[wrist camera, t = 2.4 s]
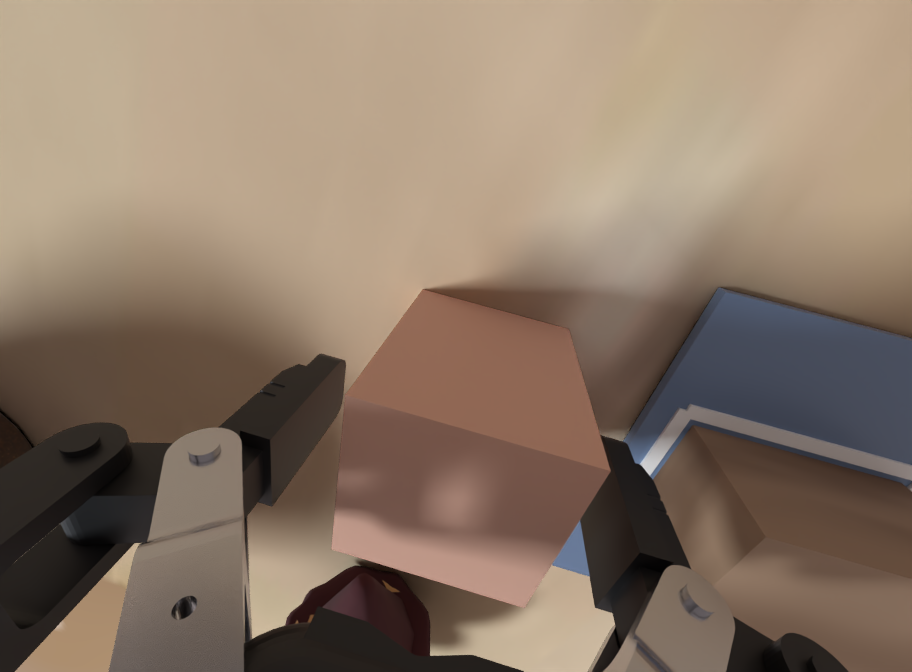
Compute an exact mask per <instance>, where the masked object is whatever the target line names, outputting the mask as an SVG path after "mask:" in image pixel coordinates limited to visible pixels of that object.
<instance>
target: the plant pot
mask: <svg viewBox="0 0 912 672" xmlns="http://www.w3.org/2000/svg"><path fill="white" fill-rule="evenodd" d="M31 449H32V447H31V445H30V444H29V442H28V441H27V439H26V438H25V437H24V435H23V434H22V433H21V432H20V431H19V429H18V428H17V427H16V426H15V425H14V424H13V423H12V422H11V421H9V420H8V419H7V418H6V417H5V416H4V415H2V414H1V413H0V468H2V467H4V466H5V465H7V464H8V463H10V462H12V461H13V460H15V459H16V458H18V457H20V456H21V455H23V454H24V453H26V452H27V451H29V450H31Z"/></svg>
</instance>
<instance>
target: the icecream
mask: <svg viewBox="0 0 912 672" xmlns="http://www.w3.org/2000/svg"><path fill="white" fill-rule="evenodd" d="M318 606H320V607H323V608H326V609H329V610H332V611H335V612H338V613H342V614H345V615H348V616H351V617H354V618H357V619H361V620H364V621H367V622H369V623H370V624H371V625H373V626H374V627H376V628H377V629H378V630H380V631H381V632H383V633H384V634H385V635H387V636H388V637H390V638H391V639H392V640H394V641H395V642H397V643H398V644H399V645H401V646H402V647H403V648H405V649H406V650H408V651H409V652H410V653H412V654H414V655H417V656H430V620H429V614H428V611H427V610H426V608H425V606H424V605H423V603H422V602H421V601H420V600H419V599H418V598H417V596H416V595H415V594H414V593H413V592H412V591H411V590H410V588H409V587H408V586H407V584H406V583H405V582H404V580H403V579H402V578H401V577H400V575H399V574H397V573H391V572H385V571H380V570H376V569H372V568H369V567H365V566H353V567H350V568H348V569H346V570H344V571H343V572H341V573H340V574H338V575H337V576H335V577H334V578H332V579H331V580H329V581H328V582H326V583H325V584H322V585H320V586H318V587H315V588H313V589H312V590H310V591H309V593H308V594H307V595H306V597H305V599H304V601H303V603H302V604H301V605H300V606H298V607H297V608H296V609H295V610H293V611H292V612H291V613H290V615H289V616H288V617H287V620H286V625H291V624H297V623H307V622H311V621H312V618H313V616H314V614H315V612H316V609H317V607H318ZM286 625H285V626H286Z"/></svg>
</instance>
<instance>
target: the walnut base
mask: <svg viewBox="0 0 912 672" xmlns="http://www.w3.org/2000/svg"><path fill="white" fill-rule="evenodd" d="M653 481H654V483H655V485H656V487H657V490H658V492H659V494H660V497H661V499H660V500H661V501H663V504H664V506H665V508H666V511H667V513H666V514H667V515H669V518H670V520H671V522H672V525H673V527H674V529H675V532H676V534H677V537H678V539H679V541H680V544H681V546H682V548H683V551H684V553H685V555H686V558H687V560H688V562H689V565H690V567H691V569H692V570H693V571H695V572H696V573H698V574H700V575H701V576H702V577H704V578H705V579H706V580H707V581H708V582H709V583H711V584H712V586H713V587H714V588H715V589H716V590H717V591H718V592H719V593H720V595H721V596H722V597H723V599H724V600H725V602H726V603H727V605H728V607H729V608H730V611H731V613H732V615H733V617H735V618H737V619H738V620H740V621H742V622H743V623H745V624H746V625H748V626H750V627H751V628H753V629H755V630H756V631H758V632H760V633H761V634H763V635H765V636H766V637H768V638H770V639H771V640H773V641H776V640H778V639H779V638H781V637H782V636H783V635H785V634H786V633H797V634H800V635H803V636H805V637H807V638H809V639H811V640H813V641H814V642H816V643H817V644H819V645H820V646H822V647H823V648H824V649H826V650H827V651H828V652H829V653H831V654H832V655H833V656H834V657H835V658H836V659H837V660H838V661H839V662H840V663H841V664H842V665H843V666H844V667H845V668H846V669H847V670H848V671H849V672H912V491H911V490H909V489H908V488H907V487H906V486H905V485H903V484H902V483H900V482H897V481H893V480H889V479H886V478H882V477H879V476H875V475H871V474H868V473H864V472H861V471H857V470H853V469H850V468H846V467H843V466H839V465H835V464H832V463H828V462H825V461H821V460H817V459H814V458H810V457H807V456H803V455H800V454H796V453H792V452H789V451H785V450H782V449H778V448H774V447H771V446H767V445H764V444H760V443H756V442H753V441H749V440H746V439H742V438H738V437H735V436H731V435H728V434H724V433H720V432H717V431H713V430H710V429H706V428H702V427H699V426H695V425H692V427H691V428H690V429H689V431H688V432H687V433H686V435H685V436H684V438H683V439H682V440H681V442H680V443H679V444H678V446H677V447H676V448H675V450H674V451H673V453H672V454H671V455H670V457H669V458H668V459H667V461H666V462H665V464H664V465H663V466H662V468H661V469H660V470H659V472H658V473H657V475H656V476H655V477H654V479H653Z"/></svg>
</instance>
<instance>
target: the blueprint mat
mask: <svg viewBox="0 0 912 672" xmlns="http://www.w3.org/2000/svg"><path fill="white" fill-rule="evenodd" d="M692 425H695V426H699V427H702V428H706V429H710V430H713V431H717V432H720V433H724V434H728V435H731V436H735V437H738V438H742V439H746V440H749V441H753V442H756V443H760V444H764V445H767V446H771V447H774V448H778V449H782V450H785V451H789V452H792V453H796V454H800V455H803V456H807V457H810V458H814V459H817V460H821V461H825V462H828V463H832V464H835V465H839V466H843V467H846V468H850V469H853V470H857V471H861V472H864V473H868V474H871V475H875V476H879V477H882V478H886V479H889V480H893V481H897V482H900V483H902V484H903V485H905V486H906V487H907V488H908V489H909V490H911V491H912V338H910V337H906V336H902V335H899V334H895V333H891V332H887V331H883V330H880V329H876V328H872V327H868V326H864V325H860V324H857V323H853V322H849V321H845V320H841V319H838V318H834V317H830V316H826V315H822V314H819V313H815V312H811V311H807V310H803V309H800V308H796V307H792V306H788V305H784V304H781V303H777V302H773V301H769V300H765V299H762V298H758V297H754V296H750V295H746V294H742V293H739V292H735V291H731V290H727V289H723V288H720V287H718V289H717V291H716V292H715V294H714V296H713V297H712V299H711V300H710V302H709V304H708V305H707V307H706V308H705V310H704V312H703V313H702V315H701V317H700V318H699V320H698V321H697V323H696V325H695V326H694V328H693V329H692V331H691V333H690V334H689V336H688V338H687V339H686V341H685V342H684V344H683V346H682V347H681V349H680V350H679V352H678V354H677V355H676V357H675V358H674V360H673V362H672V363H671V365H670V367H669V368H668V370H667V371H666V373H665V375H664V376H663V378H662V379H661V381H660V383H659V384H658V386H657V388H656V389H655V391H654V392H653V394H652V396H651V397H650V399H649V400H648V402H647V404H646V405H645V407H644V409H643V410H642V412H641V413H640V415H639V417H638V418H637V420H636V421H635V423H634V425H633V426H632V428H631V430H630V431H629V433H628V434H627V436H626V438H625V439H624V441H623V442H625V443H627V445H628V446H629V449H630V451H631V454H632V456H633V459H634V462H635V463H637V464H640V465H641V466H642V467H643V468H644V469H645V471H646V472H647V473H648V474H649V476H650V477H651V478H652V479H654V477H655V476H656V475H657V473H658V472H659V470H660V469H661V468H662V466H663V465H664V464H665V462H666V461H667V459H668V458H669V457H670V455H671V454H672V453H673V451H674V450H675V448H676V447H677V446H678V444H679V443H680V442H681V440H682V439H683V438H684V436H685V435H686V433H687V432H688V431H689V429H690V428H691V427H692ZM552 565H553V566H556V567H560V568H563V569H566V570H570V571H573V572H577V573H580V574H583V575H587V576H590V575H589V569H588V564H587V558H586V552H585V546H584V540H583V535H582V529H581V523H580V521H579V522H578V524H577V525H576V527H575V529H574V530H573V532H572V533H571V535H570V536H569V538H568V540H567V541H566V543H565V544H564V546H563V548H562V549H561V551H560V552H559V554H558V555H557V557H556V559H555V560H554V562H553V563H552Z"/></svg>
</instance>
